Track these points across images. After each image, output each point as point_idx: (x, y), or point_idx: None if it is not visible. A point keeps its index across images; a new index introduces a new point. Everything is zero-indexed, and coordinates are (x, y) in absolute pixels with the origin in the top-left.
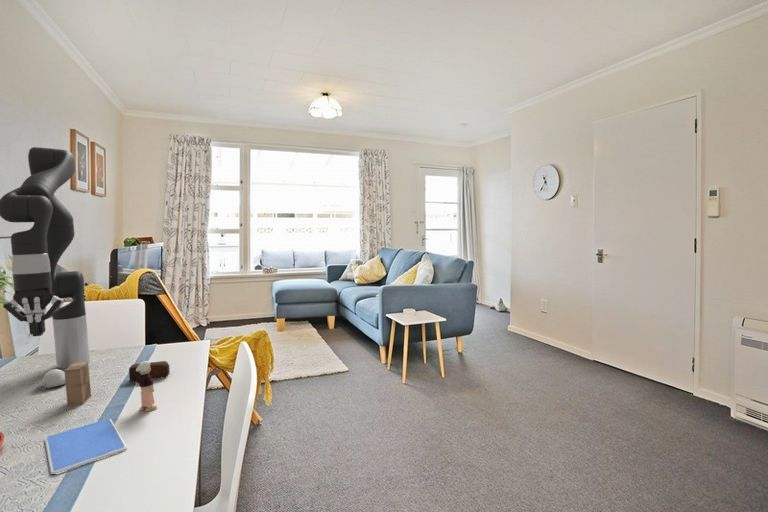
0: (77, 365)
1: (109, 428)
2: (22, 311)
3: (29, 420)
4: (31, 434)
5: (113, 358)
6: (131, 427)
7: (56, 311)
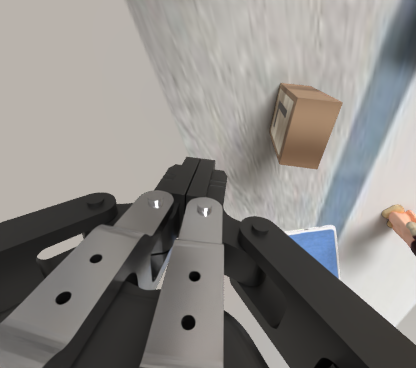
0: (310, 133)
1: (330, 256)
2: (42, 247)
3: (220, 164)
4: (238, 214)
5: None
6: (355, 258)
7: (315, 262)
